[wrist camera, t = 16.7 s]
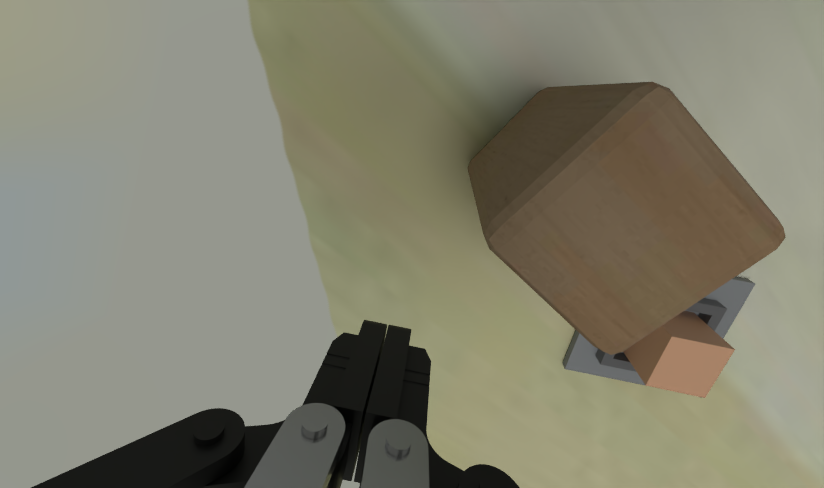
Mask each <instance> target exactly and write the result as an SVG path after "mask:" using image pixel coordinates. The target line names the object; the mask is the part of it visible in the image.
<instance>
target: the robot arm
mask: <svg viewBox="0 0 824 488" xmlns="http://www.w3.org/2000/svg"><path fill="white" fill-rule="evenodd" d="M386 328H387V324H382V323H378V322H373V321H368V320H364V322H363V324H362V327H361V330H360V332H359V335H354V334H349V333H343V334H341V335H340V336H339V337H338V338H336V339H335V340H334V341H333V342H332V344H331V346H330V348H329V350H328V352H327V355H326V356H325V359H324V361H323V363H322V366H321V368H320V369H319V371H318V374H317V376H316V378H315V380H314V382H313V384H312V386H311V388H310V391H309V393H308V395H307V397H306V399H305V401H304V403H303V405H302V406H301V407H298V408H296V409H295V410H293V411H292V412H291V413H290V414H289V415H288V417H287V418H286V419H285V420H284V421H281V422H279V423H275V424H270V425H261V426H260V425H259V426H246V427H245V425H244V421H243V419H242V418H241V417H240V416H239V415H238V414H237V413H235V412H233V411H231V410H227V409H220V408H219V409H209V410H205V411H201V412H199V413H196V414H194V415H192V416H190V417H187V418H185V419H183V420H181V421H179V422H176V423H174V424H172V425H170V426H167V427H165V428H163V429H161V430H158V431H156V432H154V433H152V434H149V435H147V436H145V437H143V438H141V439H138V440H136V441H134V442H132V443H130V444H127V445H125V446H123V447H121V448H118V449H116V450H114V451H112V452H110V453H107V454H105V455H103V456H100V457H98V458H96V459H94V460H92V461H89V462H87V463H85V464H83V465H80V466H78V467H76V468H74V469H72V470H69V471H67V472H65V473H63V474H60V475H58V476H56V477H54V478H52V479H49V480H47V481H45V482H43V483H40V484H38V485H36V486H34V487H32V488H340V486H341V483H342V480H348V481H351V480H352V476H353V473H354V469H355V465H356V461H357V457H358V461H357V467H356V473H355V479H354V482H358V483H360V487H359V488H519V486H518V485H517V484H516V483H515V482H514V481H513V480H512V479H511V477H510V476H508V475H507V474H506V473H505V472H503V471H501V470H500V469H498V468H496V467H493V466H490V465H484V464H479V465H474V466H471V467H469V468H468V469H466V470H465V471H463V470H461V469H459V468H457V467H456V466H454V465H452V464H450V463H448V462H447V461H445V460H444V459H442V458H441V457H440V456H439V455H438V454H437V453H436V452H435V451H434V449H433V448H432V447H431V445H430V443H429V441H428V438H427V433H426V425H427V411H428V396H429V382H430V367H431V361H430V358H429V356H428V354H427V352H426V350H425V349H423V348H418V347H413V346H409V341H410V335H411V329H408V328H403V327H398V326H393V325H389V326H388V330H387V334H386ZM385 334H386V337H385ZM384 340H385V341H384ZM359 449H360V450H359ZM358 453H359V455H358Z"/></svg>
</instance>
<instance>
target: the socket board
mask: <svg viewBox="0 0 824 488" xmlns="http://www.w3.org/2000/svg"><path fill="white" fill-rule="evenodd" d="M754 285H755V283H753V282H752V281H750V280H749V279H745V278H740V277H734V278H733V279H731V280H730V281H728V282H727V283H725V284H724V285H722V286H721V287H719V288H718V289H716V290H715V291H713V292H712V293H710V294H709V295H707V296H706V297H704V298H703V299H701V300H700V301H698V302H697V303H695V304H694V305H692V306H691V307H689V308H688V309H686V310H685V311H688V312H693V313H695V314H696V315H697V316H698V317H699V318H700V319H702V320H703V321H704V322H705V323H706V324H707V325H708V326H709V327H710V328H711V329H713V330H714V331H715V332H716V333H717V334H718V335H719V336H720V337H721V338H724V336H725V335H726V333H727V331H728V330H729V328H730V326H731V325H732V323H733V321H734V319H735V318H736V316H737V314H738V313H739V311H740V309H741V307H742V306H743V304H744V302H745V301H746V299H747V297H748V296H749V294H750V292H751V290H752V289H753V287H754ZM563 366H564V368H565V369H568V370H573V371H578V372H583V373H587V374H592V375H597V376H602V377H607V378H612V379H617V380H622V381H627V382H632V383H637V384H641V385H645V384H644V382H643V381H642V379H641V378H640V376H639V375H638V373H637V372H636V370H635V369H634V367H633V366H632V364H631V363H630V361H629V360H628V358H627V357H626V355H625V354H624V352H620V353H616V354H612V355H610V354H608V353H606V352H603V351H601V350H600V349H598V348H596V347H594V346H593V345H592V344H591V343H589V342H588V341H587V340H586V339H585V338H584V337H583V336H582V335H581V334H580V333H579V332H578V331H577V330H576V331H575V333H574V336H573V338H572V341H571V343H570V346H569V348H568V351H567V353H566V355H565V358H564V360H563Z"/></svg>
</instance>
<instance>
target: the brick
mask: <svg viewBox="0 0 824 488" xmlns="http://www.w3.org/2000/svg"><path fill="white" fill-rule="evenodd" d="M734 350H735V349H734V348H733V347H731V346H730V345H729V344H728V343H727V342H726V341H725V340H724V339H723V338H721V337H720V336H719V335H718V334H717V333H716V332H715V331H714V330H713V329H711V328H710V327H709V326H708V325H707V324H706V323H705V322H704V321H703V320H702V319H700V318H699V317H698V316H697V315H696V314H695V313H693V312H688V311H683V312H682V313H680V314H679V315H677V316H676V317H674V318H673V319H671V320H670V321H668V322H667V323H665V324H664V325H662V326H661V327H659V328H658V329H656V330H655V331H653V332H652V333H650V334H649V335H647V336H646V337H644V338H643V339H641V340H640V341H638V342H637V343H635V344H634V345H632V346H631V347H629V348H628V349H626V350H625V351H623V352H624V354H625V355H626V357H627V358H628V360H629V361H630V363H631V364H632V366H633V367H634V369H635V370H636V372H637V373H638V375H639V376H640V378H641V379H642V381H643V382H644V384H645V385H646V386H651V387H656V388H661V389H665V390H670V391H675V392H679V393H684V394H689V395H694V396H698V397H703V398H705V397H706V395H707V394H708V392H709V391H710V389H711V387H712V386H713V384H714V383H715V381H716V379H717V378H718V376H719V374H720V373H721V371H722V370H723V368H724V366H725V365H726V363H727V362H728V360H729V358H730V357H731V355H732V354H733V352H734Z"/></svg>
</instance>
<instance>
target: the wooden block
mask: <svg viewBox="0 0 824 488" xmlns="http://www.w3.org/2000/svg"><path fill="white" fill-rule="evenodd" d="M468 172H469V176H470V180H471V184H472V188H473V192H474V197H475V201H476V205H477V209H478V213H479V217H480V221H481V226H482V230H483V234H484V237H485V239H486V242H487V244H488V246H489V249H490V250H491V251H492V252H494V253H495V254H496V255H497V256H498V257H499V258H500V259H501V260H502V261H503V262H504V263H505V264H506V265H507V266H508V267H510V268H511V269H512V270H513V271H514V272H515V273H516V274H517V275H518V276H519V277H520V278H521V279H522V280H523V281H524V282H526V283H527V284H528V285H529V286H530V287H531V288H532V289H533V290H534V291H535V292H536V293H537V294H538V295H539V296H540V297H542V298H543V299H544V300H545V301H546V302H547V303H548V304H549V305H550V306H551V307H552V308H553V309H554V310H555V311H556V312H558V313H559V314H560V315H561V316H562V317H563V318H564V319H565V320H566V321H567V322H568V323H569V324H570V325H571V326H572V327H574V328H575V329H576V330H577V331H578V332H579V333H580V334H581V335H582V336H583V337H584V338H585V339H586V340H587V341H588V342H589V343H591V344H592V345H593V346H594V347H596V348H598V349H600V350H601V351H603V352H606V353H608V354H610V355H612V354H616V353H620V352H623V351H625V350H626V349H628V348H629V347H631V346H632V345H634V344H635V343H637V342H638V341H640V340H641V339H643V338H644V337H646V336H647V335H649V334H650V333H652V332H653V331H655V330H656V329H658V328H659V327H661V326H662V325H664V324H665V323H667V322H668V321H670V320H671V319H673V318H674V317H676V316H677V315H679V314H680V313H682V312H683V311H685V310H686V309H688V308H689V307H691V306H692V305H694V304H695V303H697V302H698V301H700V300H701V299H703V298H704V297H706V296H707V295H709V294H710V293H712V292H713V291H715V290H716V289H718V288H719V287H721V286H722V285H724V284H725V283H727V282H728V281H730V280H731V279H733V278H734V277H736V276H737V275H739V274H740V273H742V272H743V271H745V270H746V269H748V268H749V267H751V266H752V265H754V264H755V263H757V262H758V261H760V260H761V259H763V258H764V257H766V256H767V255H769V254H770V253H772V252H773V251H775V250H776V249H777V248H778V247H779V245H780V244H781V243H782V241H783V240H784V239H785V233H784V228H783V226H782V225H781V223H780V222H779V220H778V219H777V217H776V216H775V215H774V214H773V213H772V211H771V210H770V209H769V208H768V207H767V205H766V204H765V203H764V202H763V201H762V199H761V198H760V197H759V196H758V195H757V193H756V192H755V191H754V190H753V189H752V187H751V186H750V185H749V184H748V183H747V181H746V180H745V179H744V178H743V177H742V175H741V174H740V173H739V172H738V171H737V169H736V168H735V167H734V166H733V165H732V163H731V162H730V161H729V160H728V159H727V157H726V156H725V155H724V154H723V153H722V151H721V150H720V149H719V148H718V147H717V145H716V144H715V143H714V142H713V141H712V139H711V138H710V137H709V136H708V135H707V133H706V132H705V131H704V130H703V129H702V127H701V126H700V125H699V124H698V123H697V121H696V120H695V119H694V118H693V117H692V115H691V114H690V113H689V112H688V110H687V109H686V108H685V107H684V106H683V104H682V103H681V102H680V101H679V100H678V98H677V97H676V96H675V95H674V94H673V92H672V91H671V90H670V89H669V88H666V87H664V86H661V85H659V84H657V83H654V82H640V83H621V84H601V85H582V86H562V87H548V88H545V89H543V90H541V91H539V92H538V93H537V94H536V95H535V96H534V97H533V98H532V99H531V100H530V101H529V102H528V103H527V104H526V105H525V106H524V107H523V108H522V109H521V110H520V111H519V112H518V113H517V114H516V115H515V116H514V117H513V118H512V119H511V120H510V121H509V122H508V123H507V124H506V125H505V127H504V128H503V129H502V130H501V131H500V132H499V133H498V134H497V135H496V136H495V137H494V138H493V139H492V140H491V141H490V142H489V143H488V144H487V145H486V146H485V147H484V148H483V149H482V150H481V151H480V152H479V153H478V154H477V155H476V156H475V157H474V158H473V159H472V160H471V162H470V164H469V166H468Z"/></svg>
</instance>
